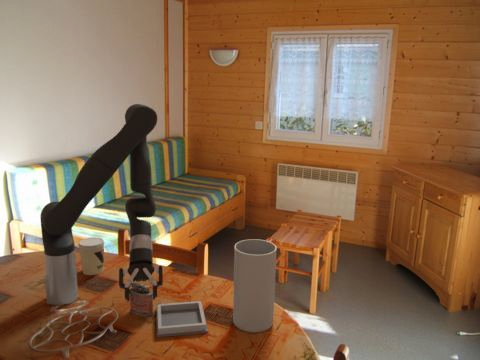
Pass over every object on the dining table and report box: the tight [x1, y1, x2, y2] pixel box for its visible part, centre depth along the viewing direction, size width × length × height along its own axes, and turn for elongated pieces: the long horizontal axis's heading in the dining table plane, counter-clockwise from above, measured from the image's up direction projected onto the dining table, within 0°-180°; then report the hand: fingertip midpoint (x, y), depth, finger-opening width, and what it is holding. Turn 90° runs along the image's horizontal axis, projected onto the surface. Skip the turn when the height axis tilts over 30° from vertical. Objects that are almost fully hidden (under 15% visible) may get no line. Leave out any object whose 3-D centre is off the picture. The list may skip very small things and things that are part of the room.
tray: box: [155, 300, 209, 338], centre depth 135 cm, size 15×15×2 cm
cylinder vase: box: [232, 238, 277, 333], centre depth 133 cm, size 12×12×25 cm
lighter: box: [129, 282, 154, 318], centre depth 139 cm, size 8×3×10 cm, turn 71°
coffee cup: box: [78, 237, 105, 276], centre depth 167 cm, size 9×9×12 cm
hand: (141, 299), depth 138 cm, fingers closed on lighter, 7 cm apart
